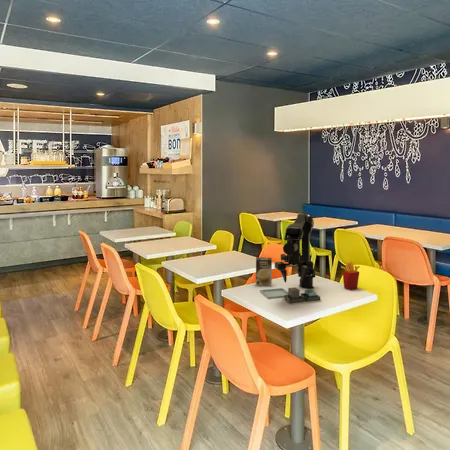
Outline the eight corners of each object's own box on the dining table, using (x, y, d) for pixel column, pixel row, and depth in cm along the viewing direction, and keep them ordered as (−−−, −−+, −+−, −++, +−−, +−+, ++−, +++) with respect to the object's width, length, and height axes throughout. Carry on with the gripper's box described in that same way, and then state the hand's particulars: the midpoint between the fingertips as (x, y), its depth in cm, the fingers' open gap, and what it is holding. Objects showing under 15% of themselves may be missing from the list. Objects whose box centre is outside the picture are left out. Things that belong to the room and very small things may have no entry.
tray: (282, 290, 238) (282, 287, 238) (291, 297, 225) (291, 294, 225) (259, 292, 235) (259, 290, 235) (268, 300, 222) (268, 297, 222)
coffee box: (255, 287, 246) (255, 259, 243) (255, 284, 252) (255, 257, 250) (271, 287, 245) (271, 259, 243) (271, 284, 251) (271, 257, 249)
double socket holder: (314, 297, 225) (315, 288, 224) (322, 302, 217) (322, 292, 216) (282, 300, 221) (282, 291, 220) (288, 305, 213) (288, 295, 212)
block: (295, 298, 221) (295, 287, 220) (299, 301, 216) (299, 290, 215) (288, 299, 220) (288, 287, 219) (292, 302, 215) (292, 290, 214)
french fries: (359, 289, 238) (360, 262, 236) (348, 291, 235) (348, 264, 233) (348, 285, 246) (349, 259, 244) (337, 287, 243) (337, 261, 241)
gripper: (304, 246, 224) (304, 276, 226) (270, 249, 220) (270, 279, 222) (314, 250, 213) (313, 281, 216) (278, 253, 209) (278, 284, 211)
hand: (293, 281), depth 216 cm, fingers open, 9 cm apart
